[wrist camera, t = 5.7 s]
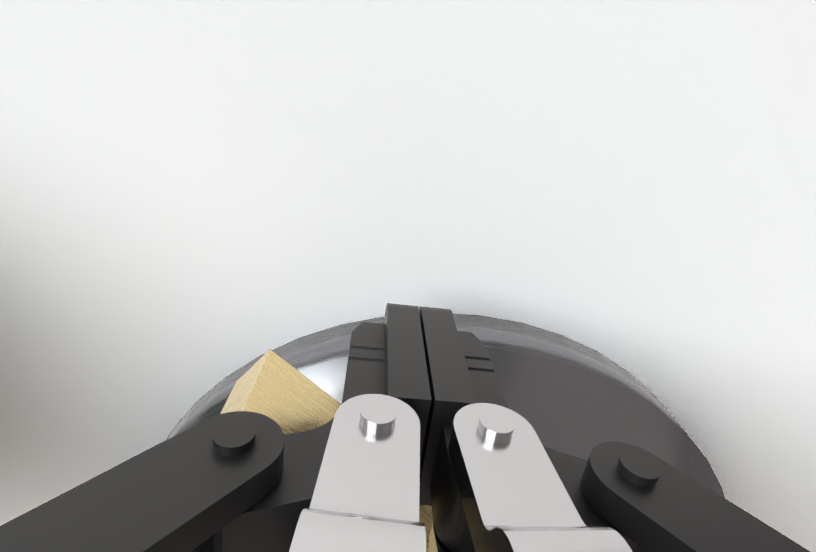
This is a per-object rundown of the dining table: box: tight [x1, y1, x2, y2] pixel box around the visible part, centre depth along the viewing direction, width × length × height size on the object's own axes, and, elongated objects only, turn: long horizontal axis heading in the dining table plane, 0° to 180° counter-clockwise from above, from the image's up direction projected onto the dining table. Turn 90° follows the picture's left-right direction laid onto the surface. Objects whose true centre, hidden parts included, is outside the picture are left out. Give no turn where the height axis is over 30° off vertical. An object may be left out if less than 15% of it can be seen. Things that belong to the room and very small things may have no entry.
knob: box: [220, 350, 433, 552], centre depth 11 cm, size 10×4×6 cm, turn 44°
